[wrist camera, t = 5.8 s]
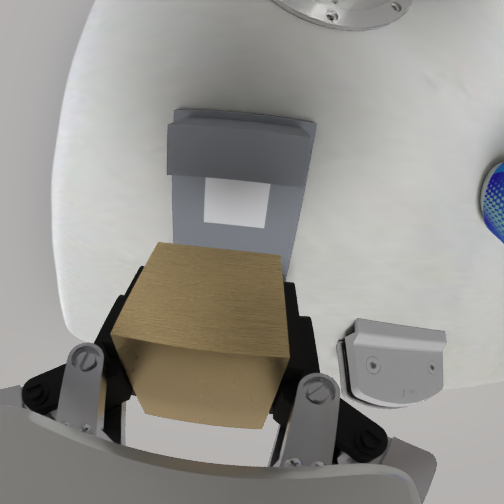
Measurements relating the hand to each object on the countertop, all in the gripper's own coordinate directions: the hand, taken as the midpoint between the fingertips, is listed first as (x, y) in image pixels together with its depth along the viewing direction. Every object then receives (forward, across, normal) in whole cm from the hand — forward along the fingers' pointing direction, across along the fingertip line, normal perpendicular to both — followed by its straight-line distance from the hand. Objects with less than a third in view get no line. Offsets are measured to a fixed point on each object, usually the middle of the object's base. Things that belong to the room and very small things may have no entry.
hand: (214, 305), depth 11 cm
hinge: (+13, -22, +18) cm, 31 cm away
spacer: (0, 0, 0) cm, 0 cm away
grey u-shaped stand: (+13, 0, +5) cm, 14 cm away
